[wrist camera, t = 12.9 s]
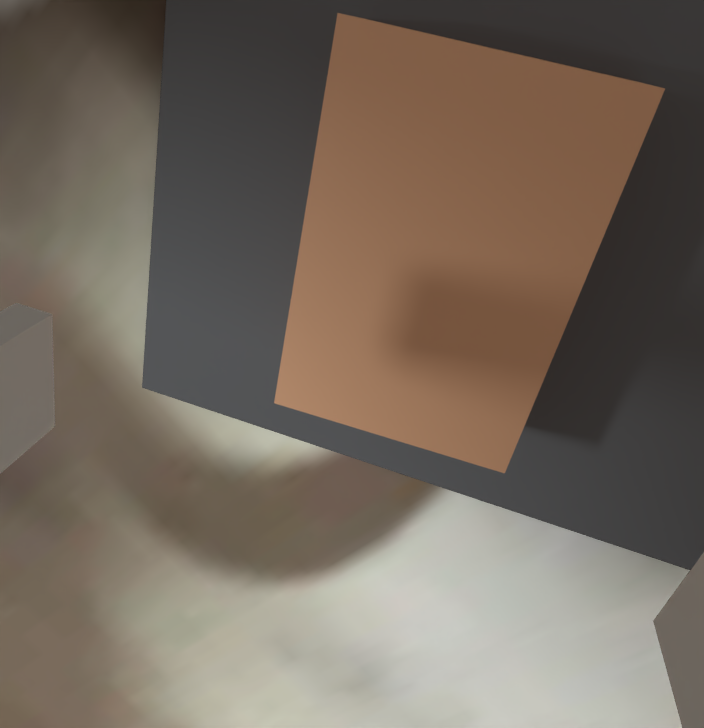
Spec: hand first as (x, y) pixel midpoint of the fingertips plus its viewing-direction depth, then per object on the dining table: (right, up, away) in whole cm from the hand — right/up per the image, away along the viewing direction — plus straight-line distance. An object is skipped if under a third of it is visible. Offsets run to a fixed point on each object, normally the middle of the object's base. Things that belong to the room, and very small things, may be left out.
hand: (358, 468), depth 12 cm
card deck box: (+1, 0, +8) cm, 9 cm away
